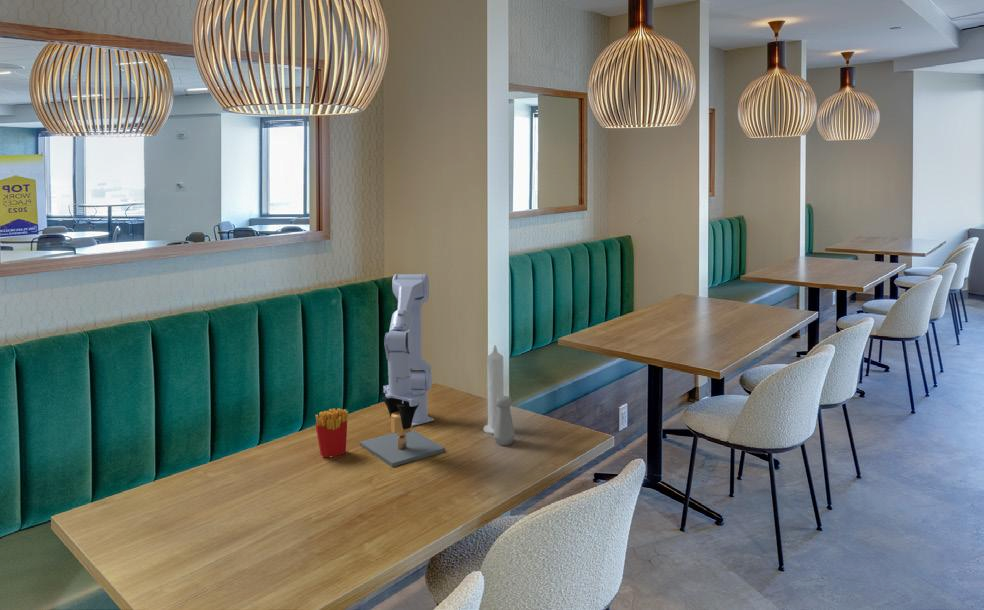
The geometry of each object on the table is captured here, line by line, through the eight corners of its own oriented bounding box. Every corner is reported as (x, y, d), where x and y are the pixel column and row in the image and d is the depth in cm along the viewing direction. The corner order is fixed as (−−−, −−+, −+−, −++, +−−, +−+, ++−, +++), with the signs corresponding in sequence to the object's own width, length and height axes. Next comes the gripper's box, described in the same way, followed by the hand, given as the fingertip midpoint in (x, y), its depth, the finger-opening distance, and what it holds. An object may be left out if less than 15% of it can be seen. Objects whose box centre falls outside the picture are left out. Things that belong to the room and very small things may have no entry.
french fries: (320, 459, 193) (317, 415, 191) (316, 454, 196) (313, 411, 194) (351, 453, 197) (349, 410, 194) (347, 448, 200) (345, 405, 198)
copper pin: (396, 449, 198) (395, 435, 197) (403, 447, 199) (403, 433, 198) (400, 452, 196) (400, 438, 195) (408, 450, 197) (408, 435, 196)
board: (359, 445, 202) (359, 441, 202) (410, 431, 211) (410, 428, 211) (392, 466, 188) (392, 463, 188) (445, 451, 197) (445, 447, 197)
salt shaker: (514, 446, 200) (514, 400, 197) (493, 446, 200) (493, 400, 197) (514, 438, 206) (514, 393, 203) (493, 438, 206) (493, 393, 203)
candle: (479, 427, 214) (478, 343, 209) (501, 423, 217) (501, 340, 212) (489, 436, 208) (488, 349, 203) (512, 431, 211) (512, 346, 205)
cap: (388, 429, 197) (387, 413, 196) (405, 425, 200) (404, 409, 199) (398, 435, 193) (397, 418, 192) (415, 430, 196) (414, 414, 195)
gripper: (372, 372, 197) (374, 420, 199) (400, 385, 185) (402, 436, 188) (395, 367, 201) (397, 415, 204) (424, 380, 189) (425, 430, 192)
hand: (401, 425), depth 196 cm, fingers closed on cap, 5 cm apart
